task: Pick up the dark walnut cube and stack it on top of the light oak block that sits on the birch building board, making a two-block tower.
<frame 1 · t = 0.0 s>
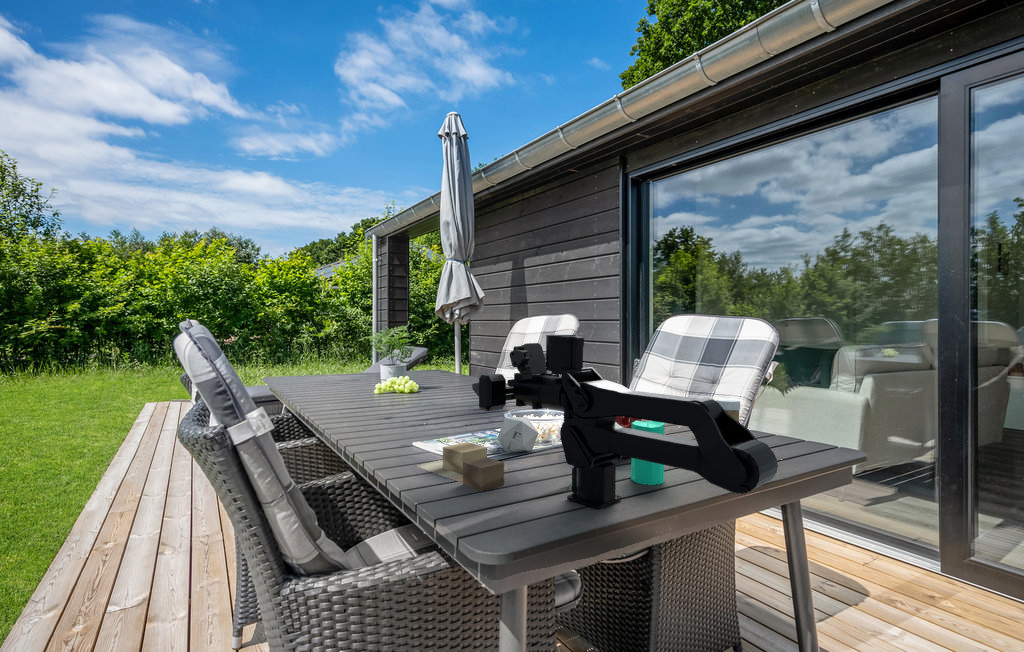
hand: (490, 384, 105), 17 cm above the table, tool horizontal, fingers open, 9 cm apart
building board: (461, 472, 102), on the table
plant pot: (610, 454, 117), on the table
walnut cube: (483, 491, 91), on the table
oak block: (464, 468, 101), point 1 cm above the table, touching building board
candle: (647, 480, 98), on the table
sprinkles bottle: (727, 466, 107), on the table
die: (517, 454, 117), on the table
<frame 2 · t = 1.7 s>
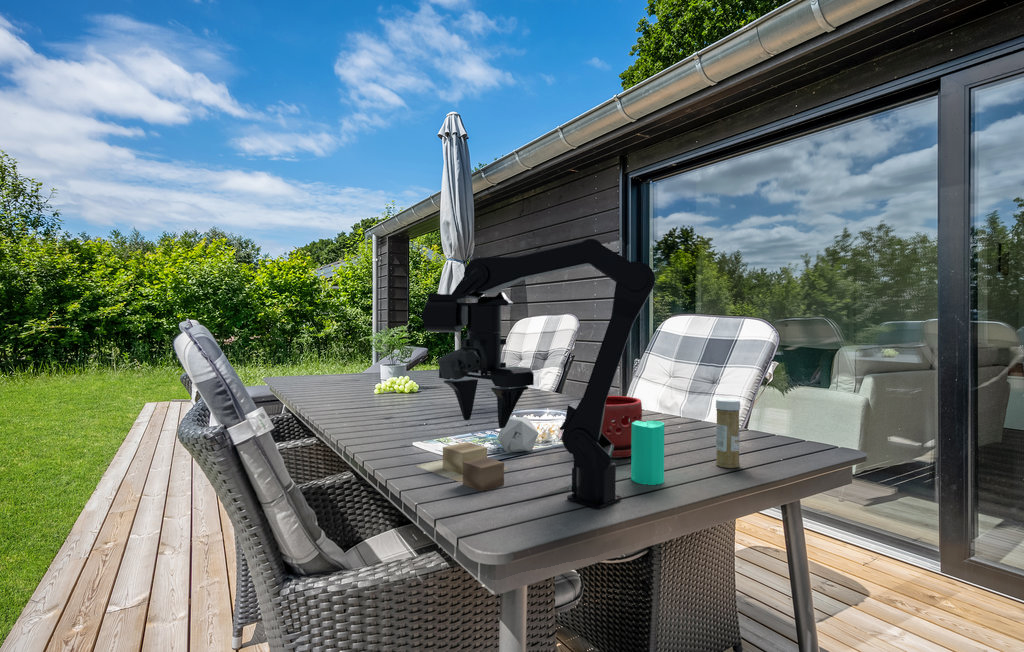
hand: (483, 423, 91), 11 cm above the table, tool pointing down, fingers open, 9 cm apart
nothing on the table moved.
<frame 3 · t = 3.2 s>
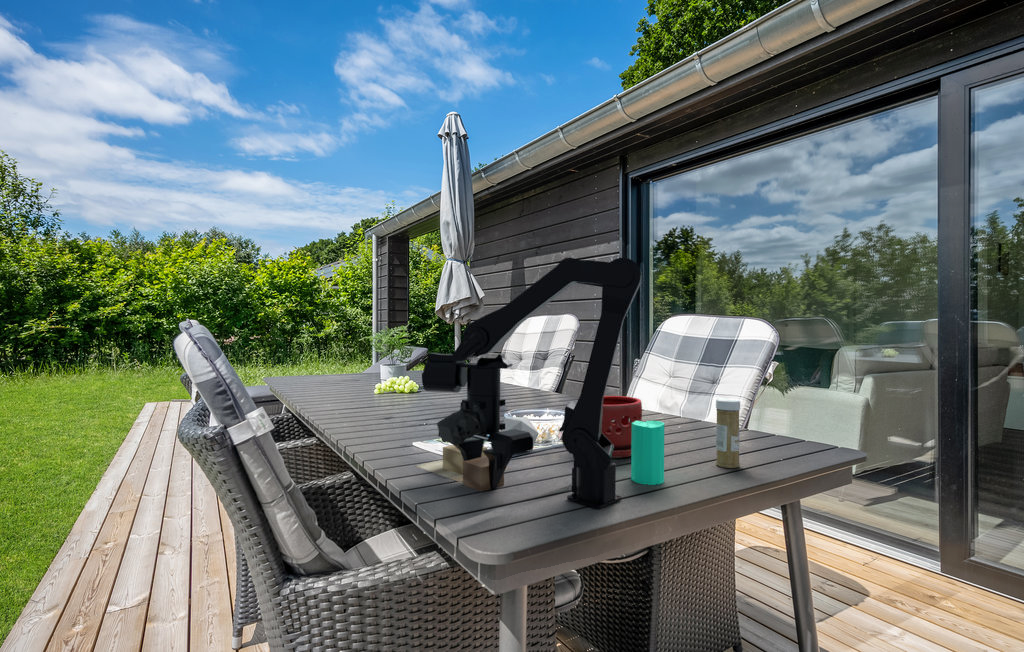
hand: (483, 484, 91), 1 cm above the table, tool pointing down, fingers closed on walnut cube, 5 cm apart
walnut cube: (483, 490, 91), on the table, touching gripper
everything else where it was.
when the fingers open (7 cm above the table, at t = 6.1 s): walnut cube drops 1 cm, resting on oak block.
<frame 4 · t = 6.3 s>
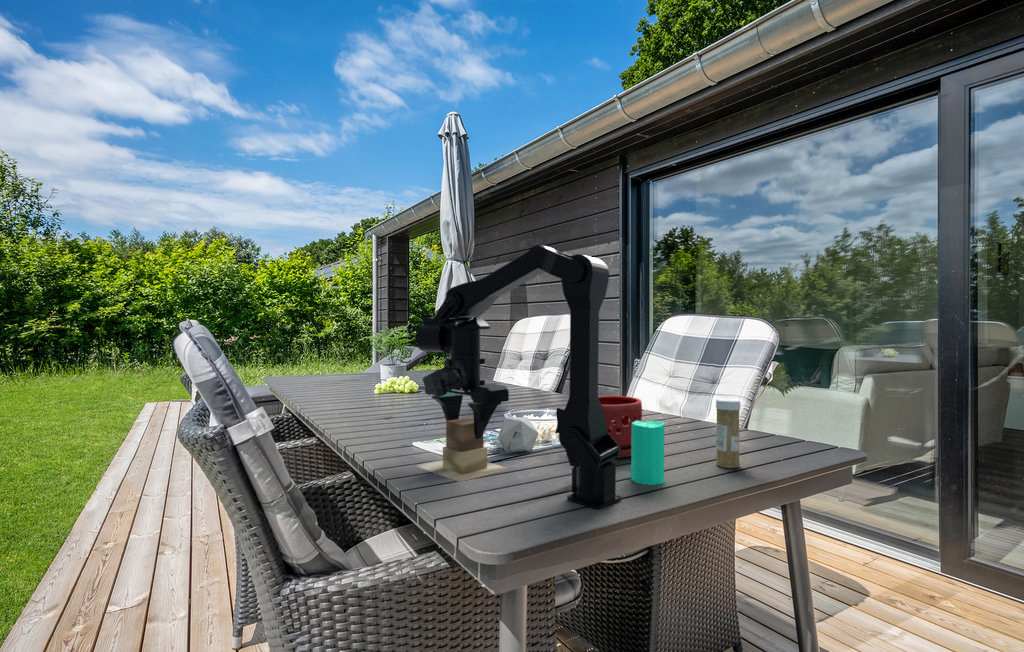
hand: (465, 435, 101), 7 cm above the table, tool pointing down, fingers open, 7 cm apart
walnut cube: (464, 447, 101), point 5 cm above the table, touching oak block
oak block: (464, 468, 101), point 1 cm above the table, touching building board, walnut cube
everything else where it was.
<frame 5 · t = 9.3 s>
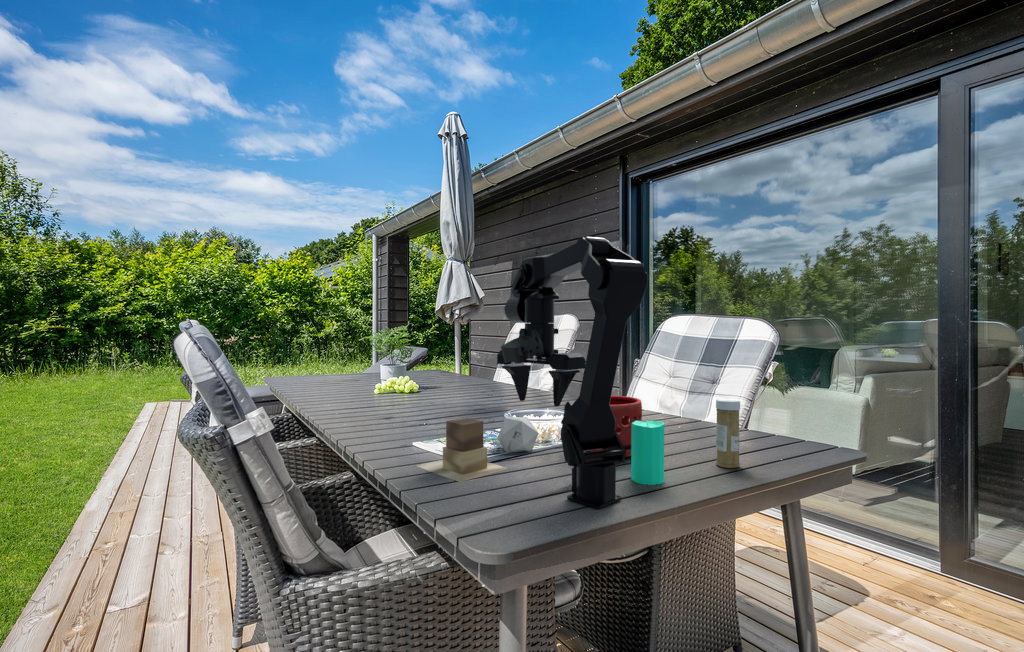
hand: (539, 403, 104), 13 cm above the table, tool pointing down, fingers open, 9 cm apart
nothing on the table moved.
at the end: walnut cube 0.1 cm off-centre on the oak block, point 4.0 cm above the oak block's base; oak block moved 0.0 cm from its start; the gripper is holding nothing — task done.
